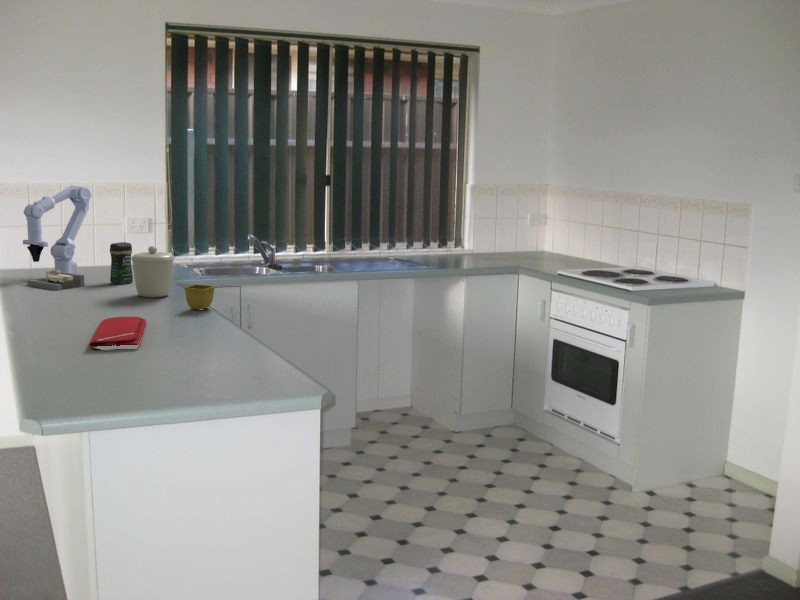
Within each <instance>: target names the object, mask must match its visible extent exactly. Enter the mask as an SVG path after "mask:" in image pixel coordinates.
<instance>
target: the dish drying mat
mask: <svg viewBox="0 0 800 600" xmlns="http://www.w3.org/2000/svg"><path fill="white" fill-rule="evenodd" d="M145 326H147V320H146V319H145V318H142V317H140V316H117V317H109V318H105V319H102V320H101V321H100V323H99V324H98V327H97V328H96V329H95V332H94V334H93V336H92V338H91V340H90V341H89V343H88V344H89V345H88V346H89V347H90V348H92V347H97V346H112V345H113V346H114V345H116V346H120V345H138V344H139V342H140V340H141V337H142V335H143V336H144V333H143V331H144V328H145V329H146V327H145ZM144 332H145V331H144ZM142 338H143V337H142ZM141 341H142V340H141Z"/></svg>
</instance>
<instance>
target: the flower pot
mask: <svg viewBox="0 0 800 600" xmlns="http://www.w3.org/2000/svg"><path fill="white" fill-rule="evenodd" d="M214 292H215V285H210V284H209V285H208V284H198V283H197V284H192V285H189V286H186V287H184V293H185V299H186V300H185V301H186V303H187V305H188V307H189V308H190V309H191V310H193V309H205V308H207V307H209V308H210V306H211V305H212V302H213V299H214ZM207 309H208V308H207ZM205 310H206V309H205Z"/></svg>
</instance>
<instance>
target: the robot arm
mask: <svg viewBox="0 0 800 600" xmlns="http://www.w3.org/2000/svg"><path fill="white" fill-rule="evenodd" d="M91 198H92V193H91V190H90V188H89V187H87V186H79V185H70V186H68V187H65V189H63V190H62V191H60V192H58V193H56V194H55V195H52V197H50V196H43V197H42V198H41V199H40V200H36V201H33V203H32V204H27V205H26V206H25V207H24V210H23V215H24V216H25V217H26V222H27V224H26V225H27V239H22V245H27V246H26V248H27V249H28V251H29V253H30V256H31V257H32V262H34V263H37V262H40V259H41V254H42V251H43V250H44V249H45V248H46V247H47V248H48V247H49V242H47V241H44V240H43V236H42V235H43V234H42V233H43V232H42V217H43V215H44V214H45V213H48V212H49V211H51V210H52V209H54V208H55V206H56V204H58V203H60V202H63V201H66V200H68V199H69V200H70V201H71V203H72V205H74V209H73V212H72V214H71V217H70V219H69V221H68V223H67V224H66V228H65V229H64V231H63V233H62V235H61V237H60V238H58V239H57V240H56V242H55V243H54V244H53V245H51V247H50V255H51V256H52V257H53V260H54V270H61V272H68V273H74V274H78V264H77V261H76V260H75V258H73V257H74V255H75V249H76V244H75V243H74V241H75V240H76V237H77V235H78V234H79V233H78V232H79V231H80V228H81V226H82V225H83V222H84V220H85V218H86V216H87V214H88V211H89V208H90V200H91Z"/></svg>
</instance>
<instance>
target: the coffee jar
mask: <svg viewBox="0 0 800 600" xmlns="http://www.w3.org/2000/svg"><path fill="white" fill-rule="evenodd" d="M132 247H133V246H132V243H130V242H125V241H123V242H114V243H110V245H109V253H110V259H111V260H110V263H111V264H110V277H109V278H110V279H109V282H110V283H111V284H112V285H126V284H132V283H133V282H134V278H133V275H134V274H133V265H132V260H131V259H130V257H132V254H133V248H132Z"/></svg>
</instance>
